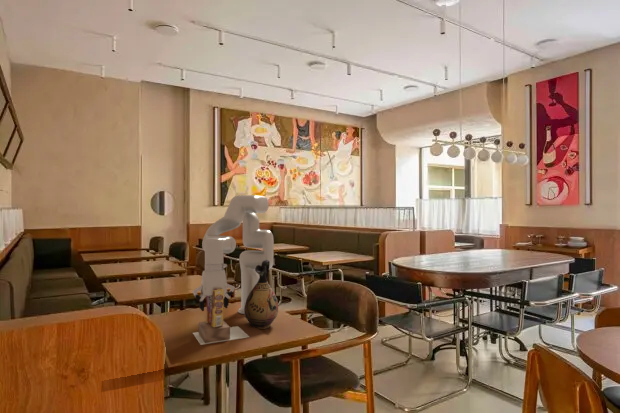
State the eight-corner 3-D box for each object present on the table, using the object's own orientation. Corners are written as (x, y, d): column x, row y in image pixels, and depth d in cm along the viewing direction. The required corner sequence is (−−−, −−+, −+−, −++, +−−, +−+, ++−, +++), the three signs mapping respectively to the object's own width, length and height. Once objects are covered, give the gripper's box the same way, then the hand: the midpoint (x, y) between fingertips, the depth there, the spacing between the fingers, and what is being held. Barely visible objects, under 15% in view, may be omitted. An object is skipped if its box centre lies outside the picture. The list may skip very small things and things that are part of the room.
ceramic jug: (272, 332, 173) (272, 263, 172) (239, 330, 176) (239, 262, 175) (283, 321, 189) (283, 258, 189) (252, 319, 192) (252, 257, 192)
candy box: (224, 326, 162) (224, 288, 162) (213, 328, 160) (213, 290, 160) (215, 320, 170) (215, 285, 169) (205, 322, 167) (206, 286, 167)
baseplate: (238, 328, 178) (238, 326, 178) (249, 339, 164) (249, 336, 164) (192, 335, 169) (192, 332, 169) (200, 347, 155) (200, 344, 155)
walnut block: (222, 330, 172) (222, 319, 172) (230, 339, 161) (230, 326, 161) (198, 334, 167) (198, 322, 167) (205, 343, 157) (205, 330, 157)
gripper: (232, 264, 171) (232, 304, 172) (190, 267, 163) (190, 309, 164) (237, 267, 165) (237, 308, 165) (194, 270, 157) (194, 313, 157)
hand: (214, 308), depth 164 cm, fingers open, 9 cm apart
